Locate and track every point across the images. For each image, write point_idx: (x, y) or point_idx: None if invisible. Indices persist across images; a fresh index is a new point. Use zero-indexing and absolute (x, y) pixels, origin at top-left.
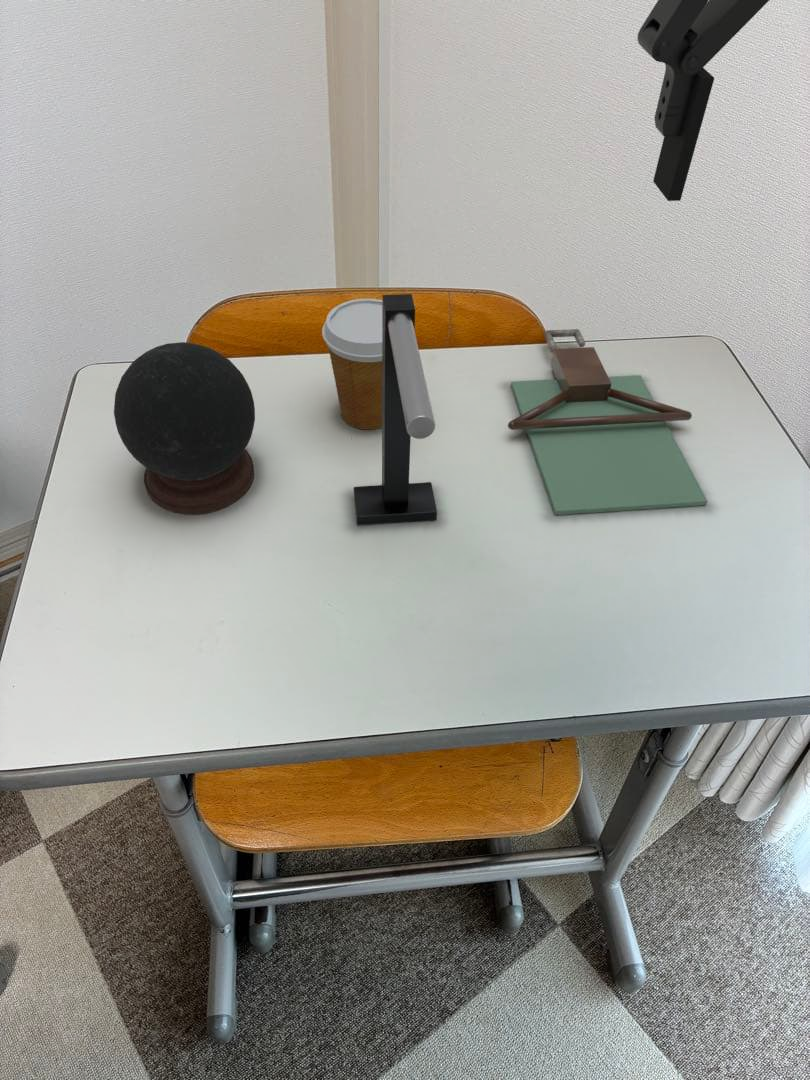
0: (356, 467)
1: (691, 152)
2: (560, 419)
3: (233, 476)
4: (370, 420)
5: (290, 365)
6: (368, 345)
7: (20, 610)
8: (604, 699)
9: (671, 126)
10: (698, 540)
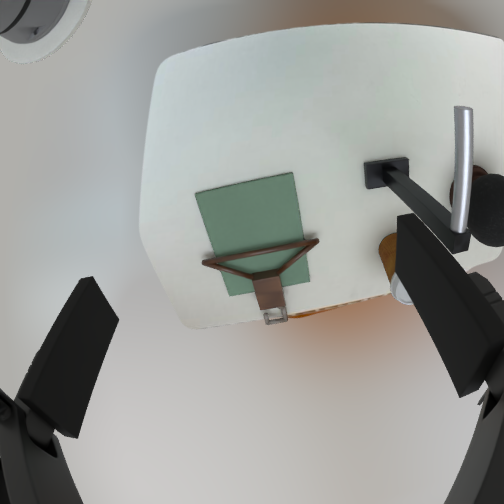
0: (403, 202)
1: (433, 254)
2: (286, 248)
3: None
4: (396, 236)
5: None
6: None
7: None
8: (270, 39)
9: (476, 283)
10: (202, 163)
